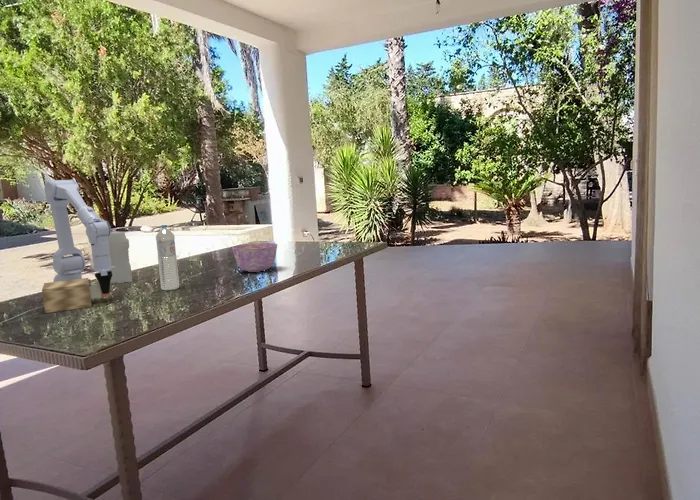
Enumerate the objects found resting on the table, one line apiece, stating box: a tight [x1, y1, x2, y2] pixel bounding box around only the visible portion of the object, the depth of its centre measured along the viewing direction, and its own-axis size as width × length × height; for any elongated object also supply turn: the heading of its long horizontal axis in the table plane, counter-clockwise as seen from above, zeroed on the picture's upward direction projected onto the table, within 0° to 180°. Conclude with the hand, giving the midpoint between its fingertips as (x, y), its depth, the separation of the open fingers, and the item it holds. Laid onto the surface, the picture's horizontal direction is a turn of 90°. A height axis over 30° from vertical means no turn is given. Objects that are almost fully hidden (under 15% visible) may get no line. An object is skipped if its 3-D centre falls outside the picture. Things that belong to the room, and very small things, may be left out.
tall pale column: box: [108, 231, 133, 284], centre depth 223 cm, size 11×4×22 cm, turn 86°
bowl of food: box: [231, 242, 278, 273], centre depth 233 cm, size 20×20×12 cm
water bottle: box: [155, 224, 180, 291], centre depth 202 cm, size 7×7×25 cm
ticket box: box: [41, 277, 93, 314], centre depth 183 cm, size 15×14×8 cm
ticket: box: [89, 282, 111, 300], centre depth 184 cm, size 19×1×5 cm, turn 117°
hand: (105, 292), depth 188 cm, fingers open, 3 cm apart
